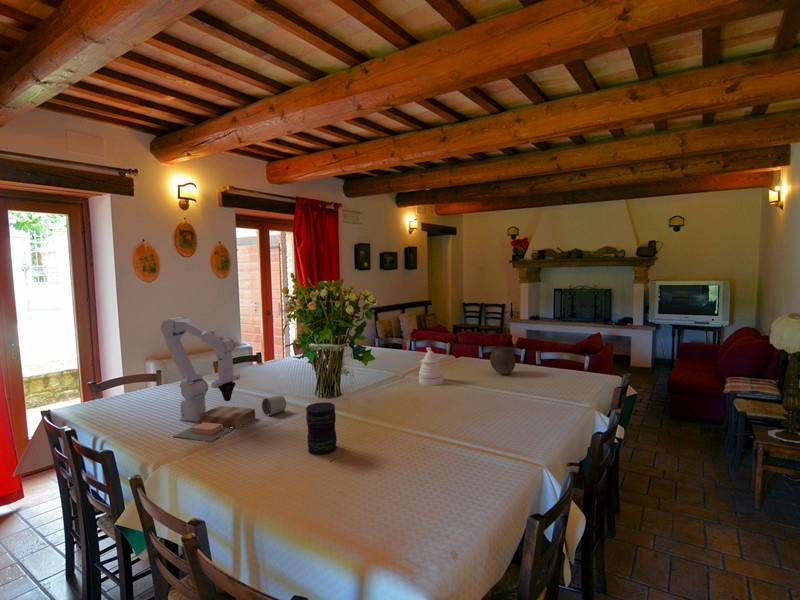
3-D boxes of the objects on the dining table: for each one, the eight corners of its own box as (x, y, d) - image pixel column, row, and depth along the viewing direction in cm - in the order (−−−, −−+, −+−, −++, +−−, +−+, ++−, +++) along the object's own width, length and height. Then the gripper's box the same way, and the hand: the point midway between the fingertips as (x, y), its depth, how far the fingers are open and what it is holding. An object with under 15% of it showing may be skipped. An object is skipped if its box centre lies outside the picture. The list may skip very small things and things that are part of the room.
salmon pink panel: (203, 422, 173) (203, 427, 174) (192, 427, 168) (192, 432, 168) (222, 424, 171) (222, 429, 171) (211, 429, 165) (211, 434, 165)
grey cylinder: (288, 412, 190) (286, 394, 189) (271, 417, 184) (270, 399, 183) (274, 408, 197) (272, 391, 196) (257, 413, 191) (256, 395, 190)
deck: (199, 424, 178) (198, 415, 177) (220, 414, 189) (219, 405, 189) (236, 428, 172) (235, 418, 172) (255, 418, 183) (254, 408, 183)
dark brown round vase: (519, 372, 246) (518, 346, 245) (511, 378, 234) (510, 350, 233) (494, 370, 253) (494, 344, 252) (486, 375, 242) (485, 348, 240)
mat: (172, 437, 165) (172, 436, 165) (198, 425, 177) (198, 424, 177) (211, 441, 159) (211, 440, 159) (235, 429, 172) (235, 428, 172)
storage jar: (324, 441, 157) (322, 400, 156) (343, 447, 151) (341, 405, 149) (301, 450, 149) (299, 408, 148) (320, 458, 143) (318, 413, 142)
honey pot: (414, 380, 235) (414, 347, 234) (435, 377, 241) (434, 345, 239) (426, 386, 224) (425, 351, 222) (447, 383, 229) (447, 349, 228)
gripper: (220, 373, 171) (222, 406, 172) (245, 364, 185) (247, 396, 186) (206, 372, 174) (208, 405, 175) (231, 363, 187) (233, 394, 188)
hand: (227, 400), depth 180 cm, fingers closed
